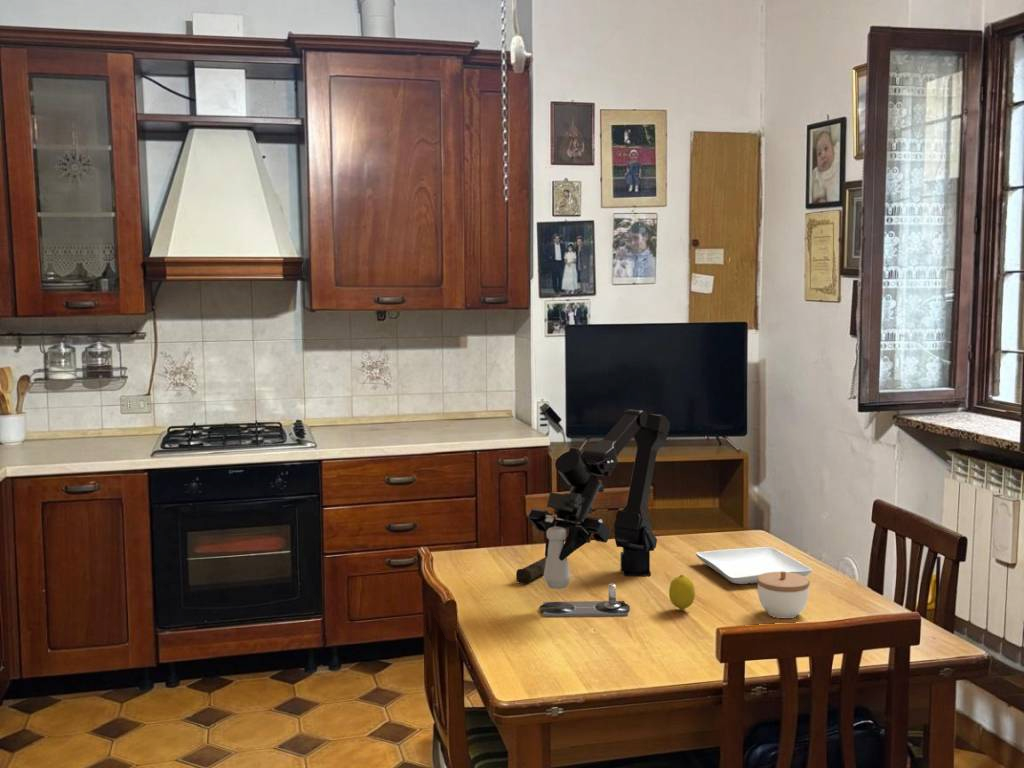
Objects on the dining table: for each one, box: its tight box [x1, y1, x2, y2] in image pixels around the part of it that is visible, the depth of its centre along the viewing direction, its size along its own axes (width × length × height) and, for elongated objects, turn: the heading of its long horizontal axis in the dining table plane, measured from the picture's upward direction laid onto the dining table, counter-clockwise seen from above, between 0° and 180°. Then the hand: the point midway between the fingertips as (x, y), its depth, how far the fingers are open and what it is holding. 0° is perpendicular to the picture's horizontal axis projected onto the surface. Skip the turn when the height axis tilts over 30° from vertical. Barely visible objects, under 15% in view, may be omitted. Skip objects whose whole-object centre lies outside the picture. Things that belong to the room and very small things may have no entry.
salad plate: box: [695, 546, 813, 585], centre depth 250 cm, size 21×21×3 cm
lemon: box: [668, 574, 696, 612], centre depth 224 cm, size 6×6×8 cm
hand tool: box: [515, 556, 546, 585], centre depth 252 cm, size 19×4×5 cm, turn 146°
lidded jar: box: [756, 571, 810, 619], centre depth 220 cm, size 11×11×9 cm
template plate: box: [539, 600, 631, 618], centre depth 225 cm, size 20×8×1 cm, turn 89°
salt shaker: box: [543, 527, 571, 590], centre depth 224 cm, size 6×6×13 cm
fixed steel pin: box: [604, 583, 621, 610], centre depth 225 cm, size 4×4×5 cm
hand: (553, 558), depth 223 cm, fingers closed on salt shaker, 3 cm apart
